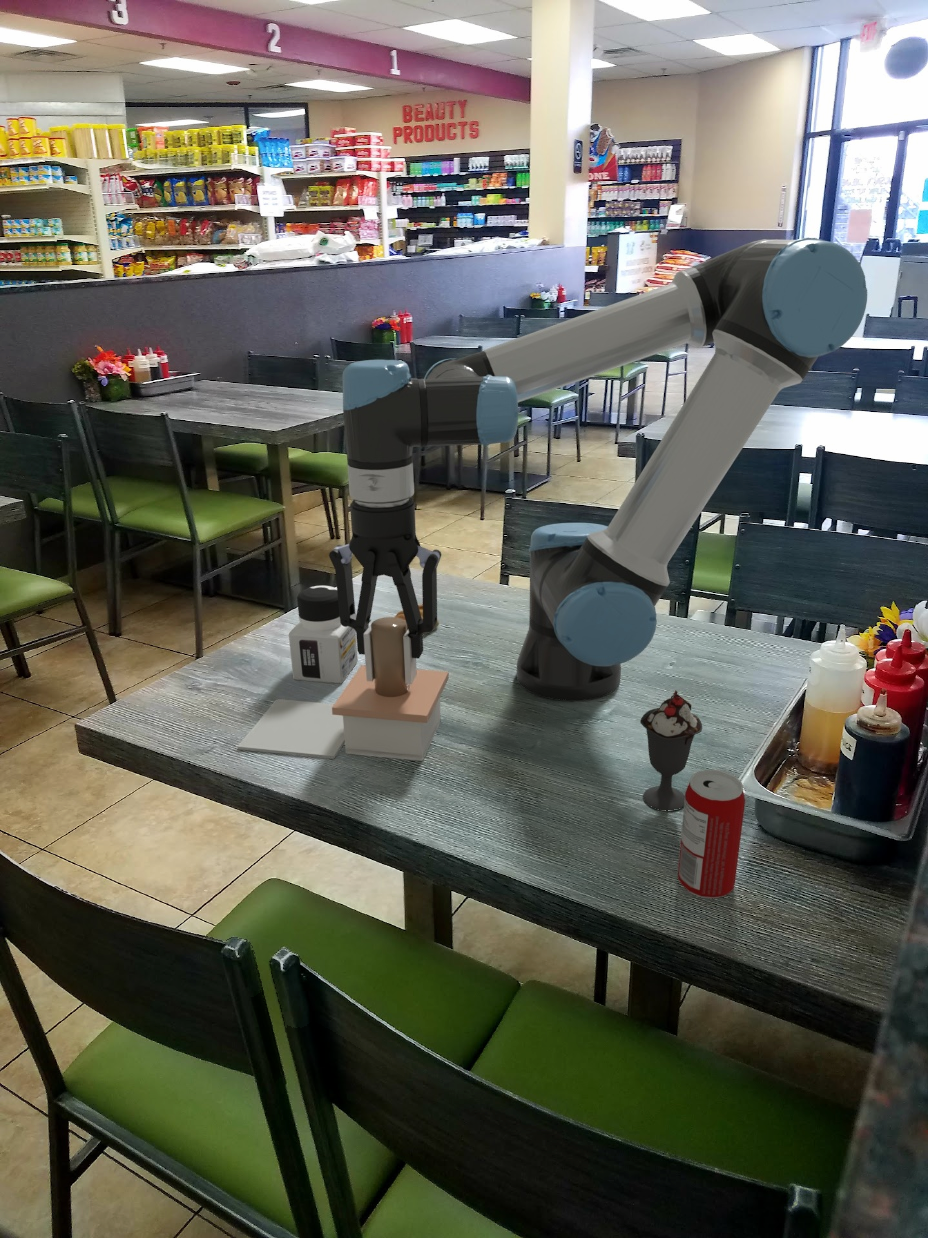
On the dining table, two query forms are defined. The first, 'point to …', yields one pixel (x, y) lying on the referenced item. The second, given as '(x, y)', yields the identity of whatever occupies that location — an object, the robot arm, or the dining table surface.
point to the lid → (391, 681)
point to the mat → (297, 730)
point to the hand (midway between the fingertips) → (391, 677)
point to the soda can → (711, 833)
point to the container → (321, 638)
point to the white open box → (390, 736)
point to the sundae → (669, 748)
